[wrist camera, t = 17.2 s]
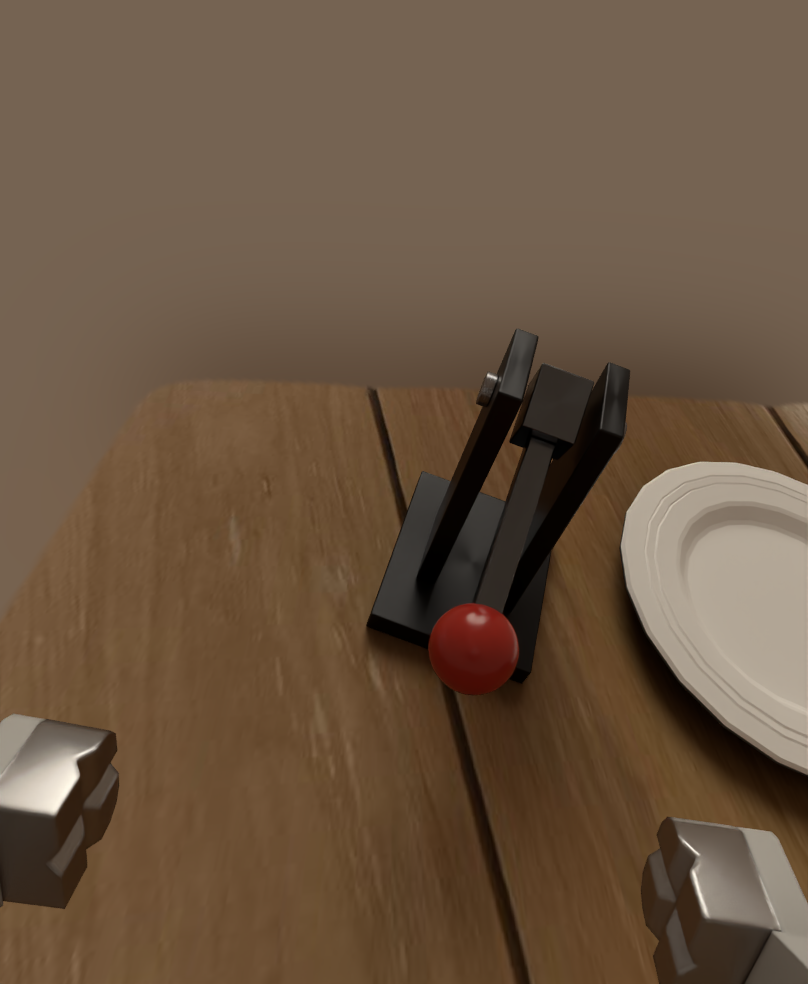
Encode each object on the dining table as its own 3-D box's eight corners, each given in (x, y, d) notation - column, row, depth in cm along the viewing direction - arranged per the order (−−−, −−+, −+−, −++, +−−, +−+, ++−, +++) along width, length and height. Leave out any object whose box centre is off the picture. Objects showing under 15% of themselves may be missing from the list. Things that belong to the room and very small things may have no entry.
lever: (493, 706, 29) (512, 711, 26) (411, 676, 30) (420, 677, 26) (586, 410, 33) (613, 381, 29) (512, 383, 33) (531, 351, 29)
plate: (744, 859, 33) (769, 847, 32) (547, 494, 45) (560, 473, 43) (1035, 753, 41) (1066, 739, 39) (802, 465, 53) (819, 447, 51)
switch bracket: (522, 684, 36) (660, 505, 26) (365, 626, 36) (442, 425, 26) (548, 532, 43) (667, 343, 33) (416, 484, 43) (494, 280, 33)
